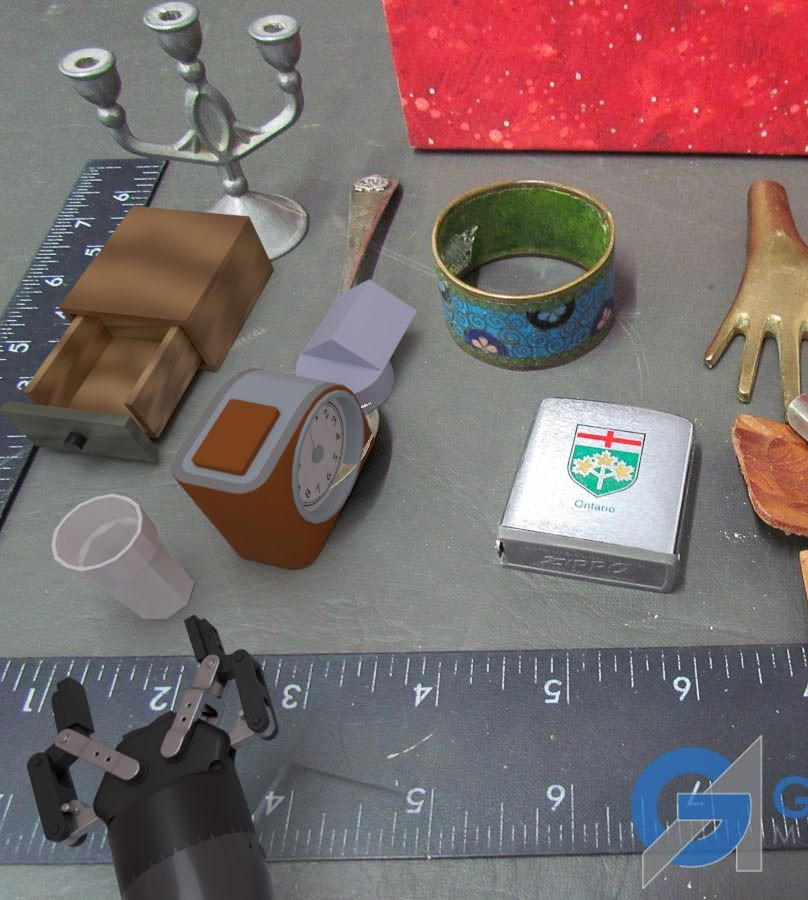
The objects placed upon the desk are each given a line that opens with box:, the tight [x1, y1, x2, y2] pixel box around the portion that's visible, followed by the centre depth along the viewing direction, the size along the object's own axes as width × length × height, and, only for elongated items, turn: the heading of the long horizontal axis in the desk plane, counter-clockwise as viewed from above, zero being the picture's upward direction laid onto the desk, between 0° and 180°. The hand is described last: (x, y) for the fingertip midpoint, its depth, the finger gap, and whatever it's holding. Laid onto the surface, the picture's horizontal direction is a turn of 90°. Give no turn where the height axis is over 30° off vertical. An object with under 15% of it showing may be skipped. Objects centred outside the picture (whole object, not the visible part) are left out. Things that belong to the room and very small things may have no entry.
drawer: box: [0, 315, 203, 463], centre depth 80 cm, size 16×12×6 cm
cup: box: [51, 493, 196, 620], centre depth 67 cm, size 7×7×11 cm
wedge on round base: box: [295, 278, 418, 415], centre depth 83 cm, size 9×7×13 cm
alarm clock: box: [171, 367, 376, 570], centre depth 71 cm, size 15×8×14 cm, turn 166°
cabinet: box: [58, 205, 275, 372], centre depth 88 cm, size 16×14×8 cm
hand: (133, 651), depth 57 cm, fingers open, 8 cm apart
